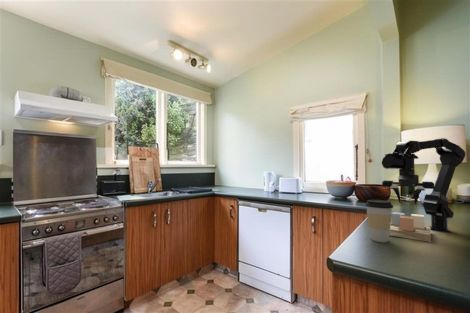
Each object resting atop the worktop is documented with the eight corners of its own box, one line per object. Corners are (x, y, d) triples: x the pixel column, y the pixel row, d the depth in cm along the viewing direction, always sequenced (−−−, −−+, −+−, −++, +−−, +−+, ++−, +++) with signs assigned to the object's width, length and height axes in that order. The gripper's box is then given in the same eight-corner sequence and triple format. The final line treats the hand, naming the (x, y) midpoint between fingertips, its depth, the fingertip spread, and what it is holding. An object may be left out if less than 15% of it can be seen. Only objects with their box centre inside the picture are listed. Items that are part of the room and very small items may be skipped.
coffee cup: (368, 235, 100) (367, 198, 100) (395, 239, 94) (394, 200, 94) (363, 240, 92) (362, 201, 93) (392, 245, 86) (391, 203, 87)
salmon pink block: (400, 227, 102) (400, 215, 103) (413, 229, 100) (413, 217, 100) (399, 229, 99) (399, 217, 99) (413, 231, 96) (413, 218, 96)
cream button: (411, 225, 106) (411, 213, 107) (424, 226, 104) (424, 215, 104) (411, 227, 103) (410, 215, 103) (424, 228, 100) (424, 216, 100)
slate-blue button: (392, 223, 111) (392, 212, 111) (404, 224, 108) (404, 213, 108) (391, 224, 107) (391, 213, 108) (404, 226, 104) (403, 214, 105)
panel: (389, 227, 113) (388, 222, 113) (430, 232, 104) (429, 227, 104) (384, 234, 101) (384, 228, 101) (430, 241, 91) (430, 235, 91)
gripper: (380, 168, 108) (380, 203, 107) (434, 169, 96) (435, 208, 95) (383, 168, 116) (384, 201, 116) (433, 169, 105) (434, 205, 104)
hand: (407, 203), depth 107 cm, fingers open, 5 cm apart
